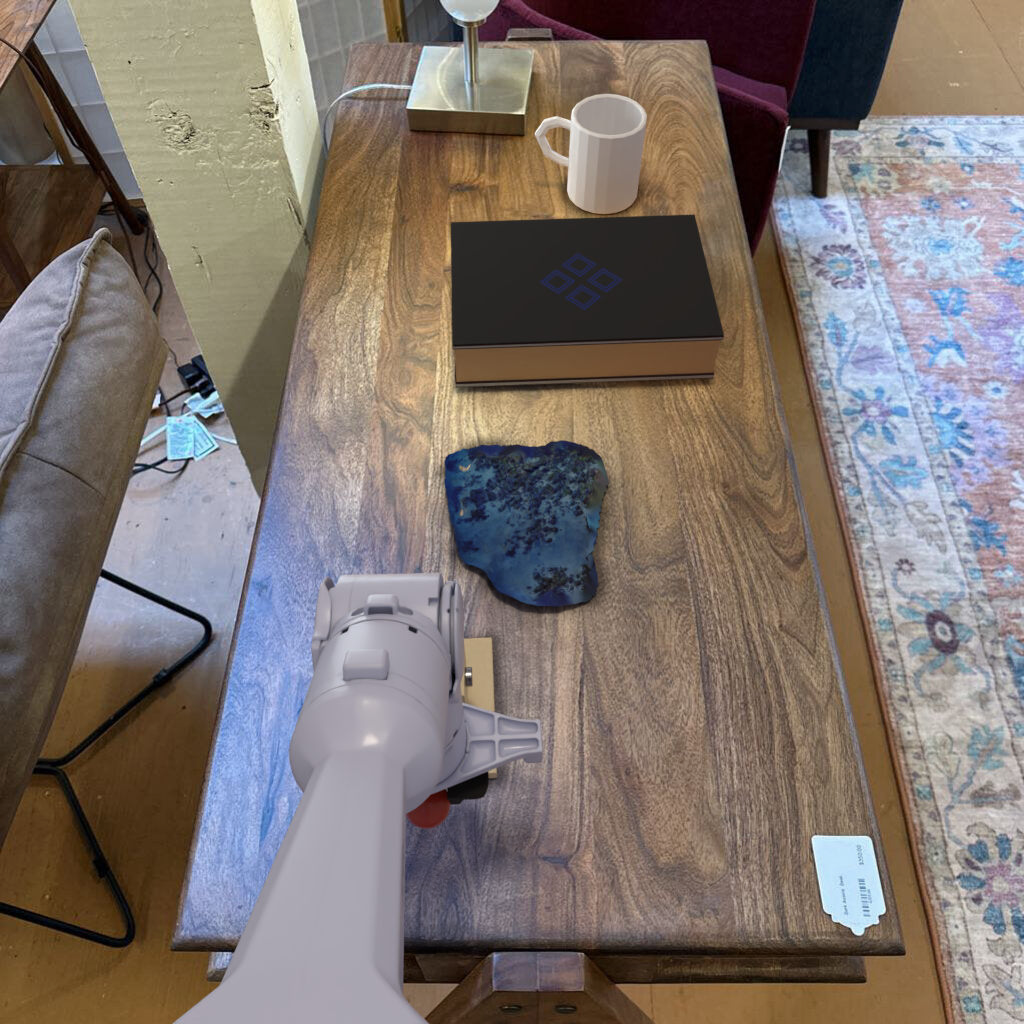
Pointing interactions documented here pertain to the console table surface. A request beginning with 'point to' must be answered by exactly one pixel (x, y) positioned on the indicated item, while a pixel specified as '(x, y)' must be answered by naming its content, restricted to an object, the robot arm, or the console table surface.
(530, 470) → the rock
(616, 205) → the mug
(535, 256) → the book
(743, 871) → the console table surface
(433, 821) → the lever
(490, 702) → the bracket
